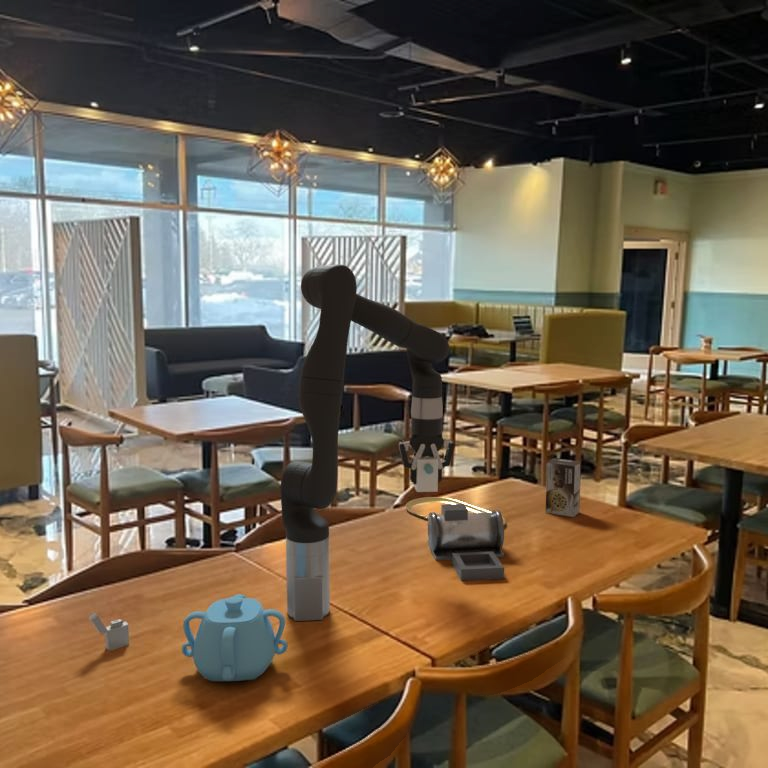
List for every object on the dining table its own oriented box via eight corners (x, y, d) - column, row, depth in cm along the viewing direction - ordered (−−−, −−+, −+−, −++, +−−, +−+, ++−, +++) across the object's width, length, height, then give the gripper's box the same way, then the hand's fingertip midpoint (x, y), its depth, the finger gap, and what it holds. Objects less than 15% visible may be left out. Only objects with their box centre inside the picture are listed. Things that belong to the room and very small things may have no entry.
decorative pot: (175, 666, 142) (172, 597, 140) (248, 638, 153) (247, 574, 150) (219, 702, 130) (216, 628, 128) (295, 669, 141) (294, 600, 138)
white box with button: (439, 494, 180) (439, 461, 179) (418, 494, 179) (419, 462, 178) (433, 485, 187) (434, 454, 186) (413, 486, 186) (414, 454, 185)
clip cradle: (503, 578, 182) (504, 567, 182) (460, 580, 181) (461, 569, 181) (489, 557, 196) (490, 547, 195) (449, 559, 194) (449, 549, 194)
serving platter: (473, 540, 209) (473, 535, 209) (393, 509, 236) (393, 504, 236) (518, 526, 221) (518, 521, 221) (437, 498, 248) (437, 493, 248)
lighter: (126, 641, 151) (124, 603, 150) (129, 644, 150) (127, 606, 148) (90, 652, 146) (88, 613, 145) (93, 656, 145) (91, 617, 144)
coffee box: (580, 512, 233) (582, 461, 230) (573, 517, 227) (575, 465, 225) (551, 507, 238) (553, 457, 235) (544, 512, 232) (546, 461, 230)
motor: (504, 557, 196) (505, 512, 194) (434, 560, 194) (435, 515, 192) (492, 541, 208) (493, 498, 206) (426, 543, 206) (427, 501, 204)
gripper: (399, 418, 177) (398, 488, 180) (459, 417, 179) (458, 486, 181) (395, 412, 184) (394, 480, 187) (452, 411, 186) (451, 478, 189)
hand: (425, 483), depth 184 cm, fingers closed on white box with button, 5 cm apart
